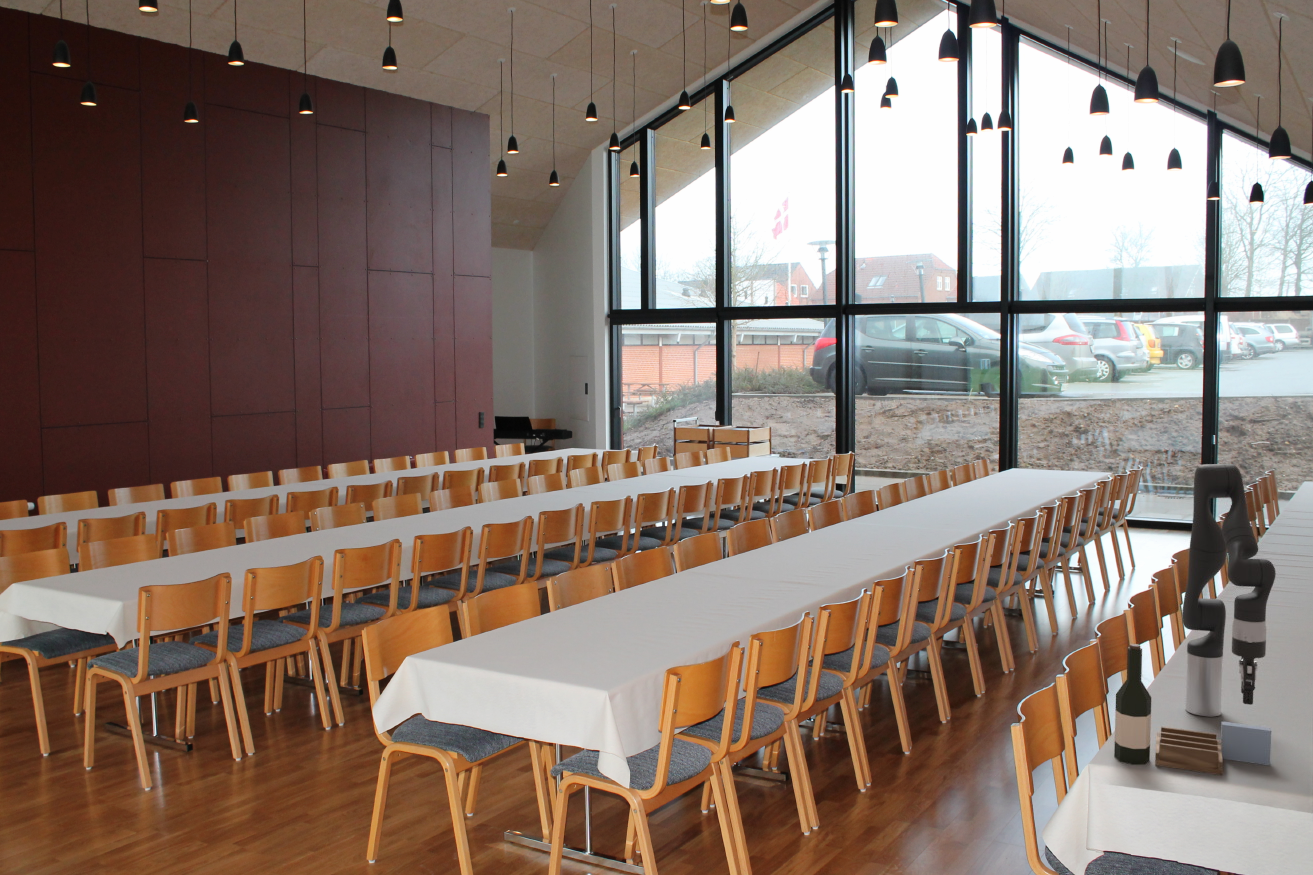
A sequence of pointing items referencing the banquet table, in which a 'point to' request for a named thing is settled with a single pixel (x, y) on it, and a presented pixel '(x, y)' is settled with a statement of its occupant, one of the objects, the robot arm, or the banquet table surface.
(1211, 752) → the rack
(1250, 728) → the light blue flat block
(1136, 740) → the wine bottle
